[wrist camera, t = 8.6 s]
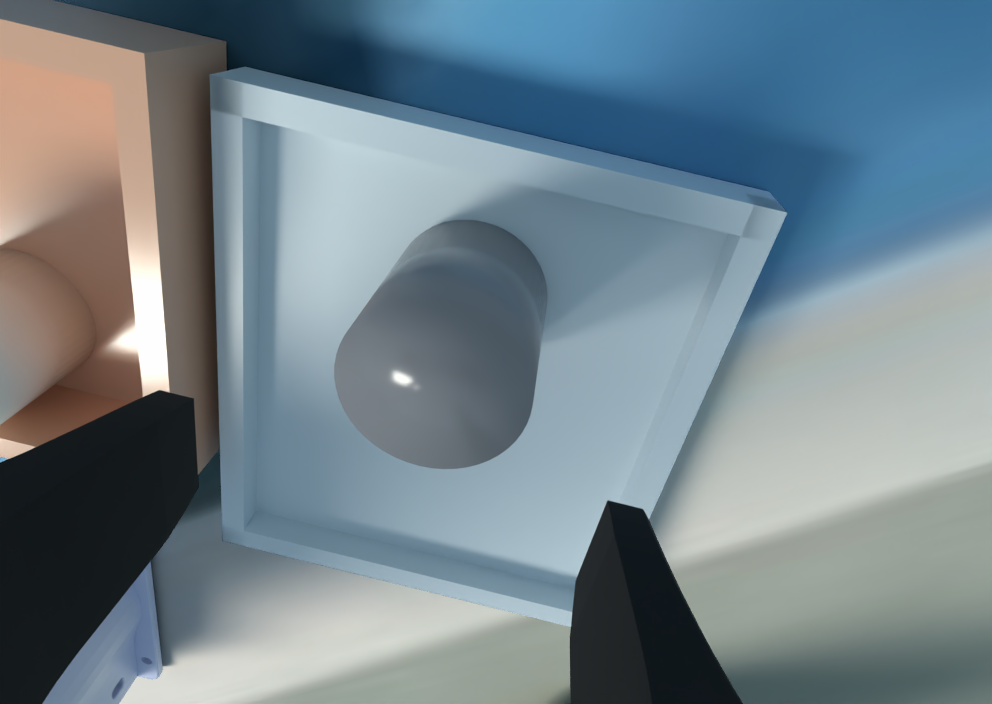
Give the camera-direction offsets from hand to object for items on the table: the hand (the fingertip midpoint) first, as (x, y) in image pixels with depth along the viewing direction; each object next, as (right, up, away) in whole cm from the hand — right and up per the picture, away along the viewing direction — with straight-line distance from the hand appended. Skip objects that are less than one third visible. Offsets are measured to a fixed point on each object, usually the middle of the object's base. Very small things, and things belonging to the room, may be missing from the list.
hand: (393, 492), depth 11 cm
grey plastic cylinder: (+1, +4, +7) cm, 8 cm away
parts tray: (0, +2, +10) cm, 10 cm away
